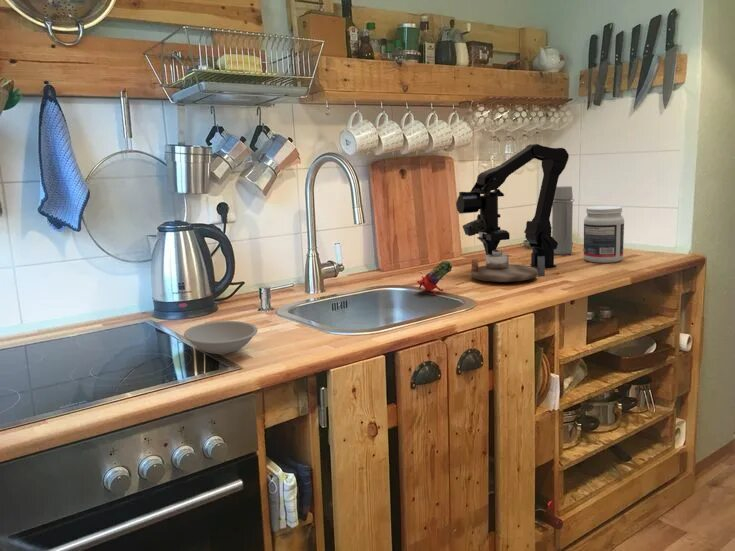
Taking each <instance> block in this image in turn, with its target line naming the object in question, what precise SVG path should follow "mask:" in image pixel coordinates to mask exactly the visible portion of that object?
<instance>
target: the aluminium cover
mask: <svg viewBox="0 0 735 551" xmlns="http://www.w3.org/2000/svg"><path fill="white" fill-rule="evenodd" d="M509 259H510V258H509V254H508V253H503V250H502V249H496V250H492V254H487V255H486V254H485V266H486V268H487V269H494V270H500V269H507V268H509V261H510V260H509Z"/></svg>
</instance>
